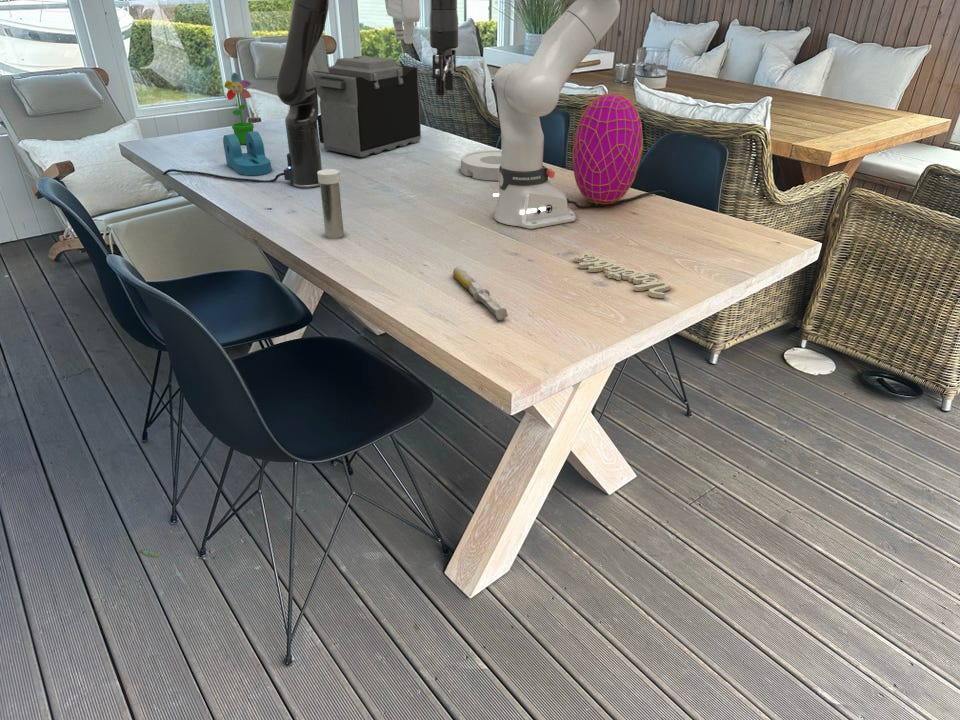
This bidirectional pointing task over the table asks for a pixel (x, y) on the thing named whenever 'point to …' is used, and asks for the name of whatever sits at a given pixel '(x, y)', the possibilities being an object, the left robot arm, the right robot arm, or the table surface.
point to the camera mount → (246, 154)
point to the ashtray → (482, 164)
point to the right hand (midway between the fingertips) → (403, 41)
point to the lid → (328, 176)
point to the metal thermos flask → (332, 210)
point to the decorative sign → (625, 274)
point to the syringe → (479, 293)
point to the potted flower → (237, 88)
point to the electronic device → (368, 105)
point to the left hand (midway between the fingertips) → (444, 92)
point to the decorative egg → (607, 148)
